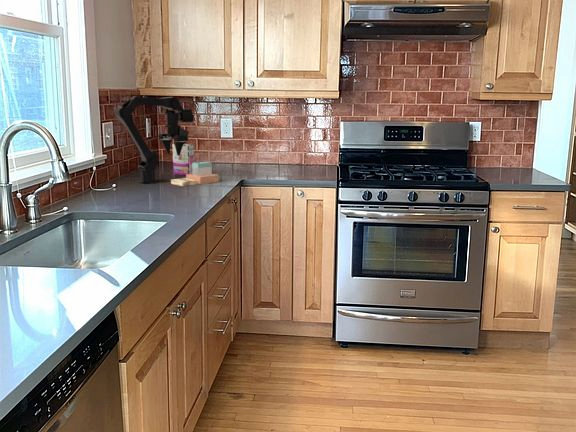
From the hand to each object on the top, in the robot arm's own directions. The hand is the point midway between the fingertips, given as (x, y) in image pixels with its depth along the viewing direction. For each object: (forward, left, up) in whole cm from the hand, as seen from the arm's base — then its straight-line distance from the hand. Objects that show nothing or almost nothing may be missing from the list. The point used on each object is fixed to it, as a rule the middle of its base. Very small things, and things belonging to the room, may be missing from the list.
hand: (173, 154), depth 284 cm
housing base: (+8, -13, -9) cm, 18 cm away
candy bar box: (+14, +12, -13) cm, 23 cm away
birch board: (-3, -13, -13) cm, 18 cm away
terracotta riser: (+8, -13, -13) cm, 20 cm away
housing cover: (+8, -13, -5) cm, 16 cm away
